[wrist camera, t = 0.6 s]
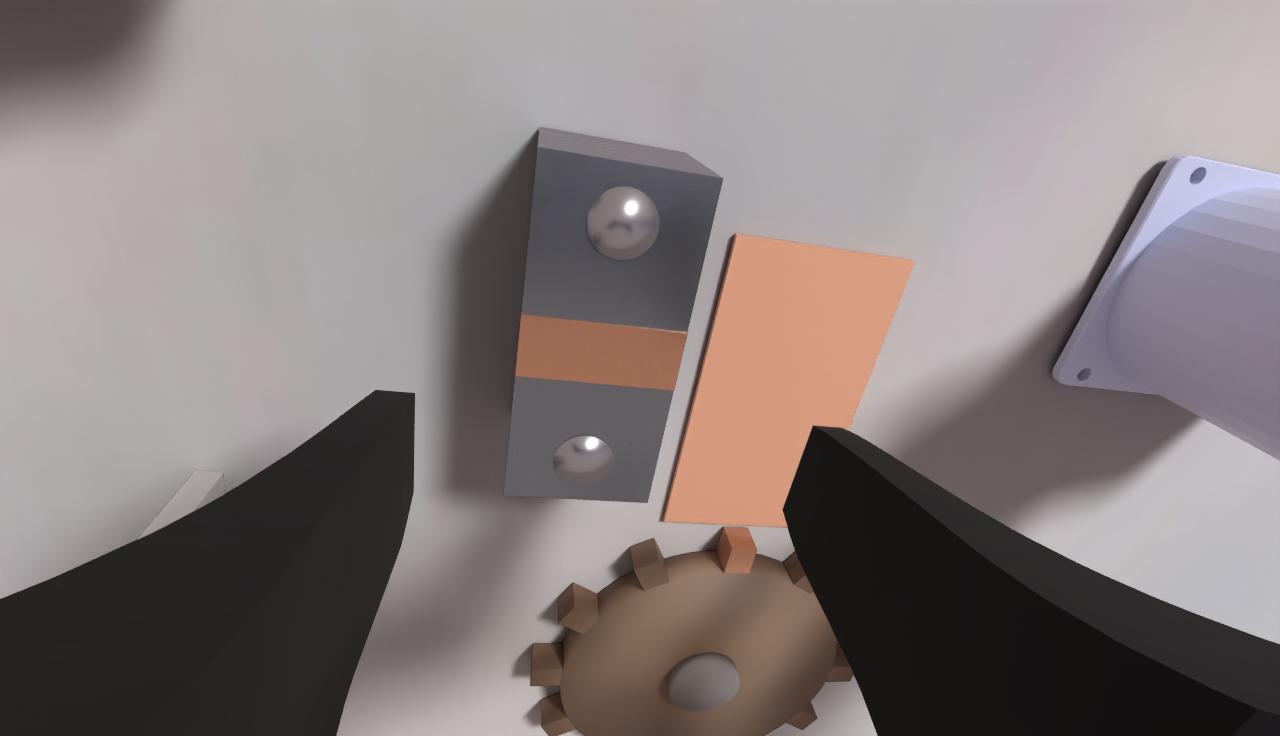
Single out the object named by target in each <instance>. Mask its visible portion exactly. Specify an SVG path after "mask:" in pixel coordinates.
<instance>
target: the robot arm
mask: <svg viewBox="0 0 1280 736" xmlns="http://www.w3.org/2000/svg"><path fill="white" fill-rule="evenodd" d="M1192 173H1193V175H1192V176H1191V174H1192ZM1190 177H1191V178H1190ZM1080 371H1081V372H1080ZM1079 372H1080V373H1079ZM1078 373H1079V374H1078ZM1052 375H1053V378H1054V379H1055V380H1056V381H1058V382H1060V383H1061V384H1064V385H1071V386H1081V387H1090V388H1099V389H1108V390H1118V391H1127V392H1136V393H1145V394H1155V395H1161V396H1163V397H1164V398H1166V399H1168V400H1170V401H1172V402H1174V403H1175V404H1177V405H1179V406H1181V407H1183V408H1184V409H1186V410H1188V411H1190V412H1192V413H1194V414H1195V415H1197V416H1199V417H1201V418H1203V419H1205V420H1206V421H1208V422H1210V423H1212V424H1214V425H1216V426H1217V427H1219V428H1221V429H1223V430H1225V431H1227V432H1228V433H1230V434H1232V435H1234V436H1236V437H1238V438H1239V439H1241V440H1243V441H1245V442H1247V443H1248V444H1250V445H1252V446H1254V447H1256V448H1258V449H1259V450H1261V451H1263V452H1265V453H1267V454H1269V455H1270V456H1272V457H1274V458H1276V459H1278V460H1280V175H1278V174H1274V173H1269V172H1264V171H1260V170H1255V169H1251V168H1246V167H1241V166H1237V165H1232V164H1227V163H1223V162H1218V161H1213V160H1209V159H1204V158H1200V157H1195V156H1189V155H1177V156H1175V157H1173V158H1171V159H1170V160H1169V161H1168V162H1167V163H1166V164H1165V165H1164V167H1163V168H1162V169H1161V171H1160V173H1159V175H1158V177H1157V179H1156V181H1155V182H1154V184H1153V186H1152V188H1151V190H1150V192H1149V193H1148V195H1147V197H1146V199H1145V201H1144V203H1143V204H1142V206H1141V208H1140V210H1139V212H1138V214H1137V215H1136V217H1135V219H1134V221H1133V223H1132V225H1131V226H1130V228H1129V230H1128V232H1127V234H1126V236H1125V238H1124V239H1123V241H1122V243H1121V245H1120V247H1119V249H1118V250H1117V252H1116V254H1115V256H1114V258H1113V260H1112V261H1111V263H1110V265H1109V267H1108V269H1107V271H1106V272H1105V274H1104V276H1103V278H1102V280H1101V282H1100V283H1099V285H1098V287H1097V289H1096V291H1095V293H1094V294H1093V296H1092V298H1091V300H1090V302H1089V304H1088V306H1087V307H1086V309H1085V311H1084V313H1083V315H1082V317H1081V318H1080V320H1079V322H1078V324H1077V326H1076V328H1075V329H1074V331H1073V333H1072V335H1071V337H1070V339H1069V340H1068V342H1067V344H1066V346H1065V348H1064V350H1063V351H1062V353H1061V355H1060V357H1059V359H1058V361H1057V362H1056V364H1055V366H1054V369H1053V371H1052ZM414 424H415V393H406V392H394V391H382V390H375V391H374V392H372V393H371V394H370V395H368V396H367V397H365V398H364V399H363V400H361V401H360V402H359V403H357V404H356V405H355V406H353V407H352V408H351V409H349V410H348V411H347V412H345V413H344V414H343V415H341V416H340V417H339V418H337V419H336V420H335V421H333V422H332V423H331V424H329V425H328V426H327V427H325V428H324V429H323V430H321V431H320V432H319V433H317V434H316V435H314V436H313V437H312V438H310V439H309V440H307V441H306V442H305V443H303V444H302V445H300V446H299V447H298V448H296V449H295V450H293V451H292V452H291V453H289V454H288V455H286V456H284V457H283V458H281V459H280V460H278V461H277V462H275V463H274V464H272V465H270V466H269V467H267V468H266V469H264V470H263V471H261V472H260V473H258V474H256V475H255V476H253V477H252V478H250V479H249V480H247V481H246V482H244V483H242V484H241V485H239V486H238V487H236V488H234V489H233V490H231V491H229V492H227V493H226V494H224V495H222V496H220V497H219V498H217V499H215V500H213V501H212V502H210V503H208V504H206V505H205V506H203V507H201V508H199V509H197V510H195V511H193V512H191V513H189V514H188V515H186V516H184V517H182V518H180V519H178V520H176V521H174V522H172V523H170V524H169V525H167V526H165V527H163V528H161V529H159V530H157V531H155V532H153V533H151V534H149V535H147V536H144V537H142V538H140V539H138V540H136V541H133V542H131V543H129V544H127V545H125V546H122V547H120V548H118V549H116V550H114V551H111V552H109V553H107V554H105V555H103V556H100V557H98V558H96V559H94V560H92V561H89V562H87V563H85V564H83V565H81V566H78V567H76V568H74V569H72V570H70V571H67V572H65V573H63V574H61V575H58V576H56V577H54V578H51V579H49V580H47V581H44V582H42V583H39V584H37V585H34V586H32V587H29V588H27V589H24V590H22V591H19V592H17V593H14V594H12V595H9V596H7V597H4V598H2V599H0V736H336V734H337V731H338V727H339V723H340V719H341V715H342V712H343V708H344V704H345V701H346V698H347V695H348V691H349V688H350V685H351V682H352V679H353V676H354V673H355V670H356V667H357V665H358V662H359V659H360V656H361V654H362V651H363V648H364V646H365V643H366V640H367V637H368V635H369V632H370V629H371V627H372V624H373V621H374V619H375V616H376V613H377V610H378V608H379V605H380V602H381V600H382V597H383V594H384V591H385V589H386V586H387V583H388V581H389V578H390V575H391V572H392V570H393V567H394V564H395V561H396V559H397V556H398V553H399V550H400V547H401V544H402V540H403V536H404V532H405V527H406V523H407V519H408V514H409V510H410V505H411V501H412V496H413V492H414ZM782 510H783V513H784V517H785V520H786V523H787V527H788V530H789V534H790V537H791V540H792V543H793V546H794V548H795V551H796V554H797V557H798V559H799V562H800V564H801V566H802V568H803V570H804V572H805V574H806V577H807V579H808V581H809V583H810V585H811V587H812V589H813V591H814V593H815V595H816V597H817V599H818V602H819V604H820V606H821V608H822V610H823V612H824V614H825V616H826V618H827V620H828V622H829V624H830V626H831V628H832V630H833V632H834V634H835V636H836V638H837V640H838V642H839V644H840V646H841V648H842V651H843V653H844V655H845V657H846V659H847V661H848V663H849V665H850V667H851V669H852V672H853V674H854V676H855V678H856V681H857V683H858V685H859V687H860V690H861V692H862V695H863V697H864V700H865V703H866V705H867V708H868V711H869V714H870V716H871V719H872V722H873V724H874V727H875V730H876V732H877V735H878V736H1280V644H1277V643H1274V642H1271V641H1268V640H1265V639H1262V638H1259V637H1256V636H1254V635H1251V634H1248V633H1245V632H1243V631H1240V630H1237V629H1235V628H1232V627H1229V626H1227V625H1224V624H1221V623H1219V622H1216V621H1213V620H1211V619H1208V618H1205V617H1202V616H1200V615H1197V614H1194V613H1192V612H1189V611H1187V610H1184V609H1182V608H1179V607H1177V606H1174V605H1172V604H1169V603H1167V602H1165V601H1162V600H1160V599H1157V598H1155V597H1152V596H1150V595H1148V594H1145V593H1143V592H1141V591H1139V590H1136V589H1134V588H1132V587H1129V586H1127V585H1125V584H1123V583H1120V582H1118V581H1116V580H1113V579H1111V578H1109V577H1107V576H1104V575H1102V574H1100V573H1098V572H1096V571H1093V570H1091V569H1089V568H1087V567H1085V566H1083V565H1081V564H1079V563H1076V562H1074V561H1072V560H1070V559H1068V558H1066V557H1064V556H1062V555H1061V554H1059V553H1057V552H1055V551H1053V550H1051V549H1049V548H1047V547H1045V546H1043V545H1041V544H1039V543H1037V542H1035V541H1033V540H1031V539H1029V538H1027V537H1025V536H1023V535H1022V534H1020V533H1018V532H1016V531H1014V530H1012V529H1011V528H1009V527H1007V526H1005V525H1004V524H1002V523H1000V522H998V521H997V520H995V519H993V518H991V517H990V516H988V515H986V514H985V513H983V512H981V511H979V510H978V509H976V508H974V507H973V506H971V505H969V504H968V503H966V502H964V501H963V500H961V499H959V498H958V497H956V496H954V495H953V494H951V493H950V492H948V491H946V490H945V489H943V488H942V487H940V486H938V485H937V484H935V483H934V482H932V481H930V480H929V479H927V478H926V477H924V476H922V475H921V474H919V473H918V472H916V471H915V470H913V469H912V468H910V467H908V466H907V465H905V464H904V463H902V462H900V461H899V460H897V459H896V458H894V457H893V456H891V455H889V454H888V453H886V452H885V451H883V450H881V449H880V448H878V447H876V446H875V445H873V444H872V443H870V442H868V441H866V440H865V439H863V438H861V437H859V436H858V435H856V434H854V433H852V432H850V431H848V430H846V429H844V428H840V427H827V426H815V425H813V426H812V429H811V432H810V435H809V437H808V440H807V443H806V446H805V449H804V451H803V454H802V457H801V460H800V462H799V465H798V468H797V471H796V473H795V476H794V479H793V482H792V484H791V487H790V490H789V493H788V496H787V498H786V501H785V504H784V507H783V509H782Z"/></svg>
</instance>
